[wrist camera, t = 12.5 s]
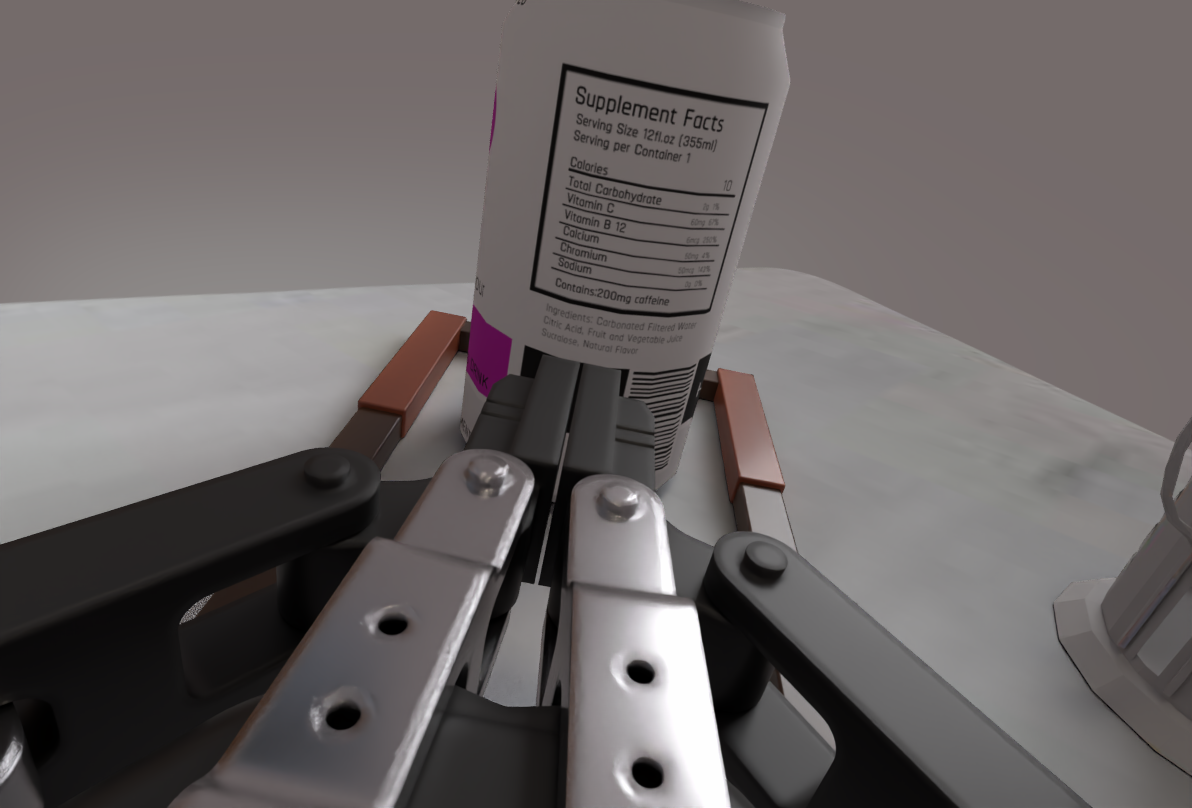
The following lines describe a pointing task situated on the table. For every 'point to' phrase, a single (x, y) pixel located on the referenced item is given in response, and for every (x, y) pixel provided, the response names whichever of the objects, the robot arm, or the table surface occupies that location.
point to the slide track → (733, 393)
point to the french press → (1143, 627)
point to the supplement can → (621, 194)
